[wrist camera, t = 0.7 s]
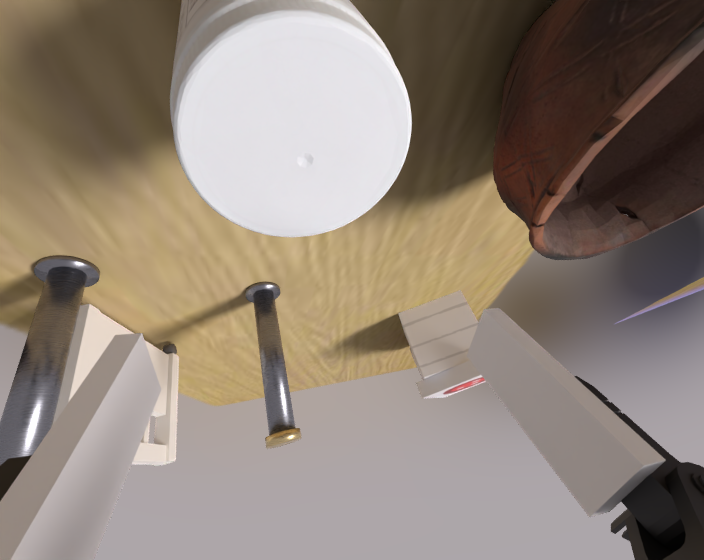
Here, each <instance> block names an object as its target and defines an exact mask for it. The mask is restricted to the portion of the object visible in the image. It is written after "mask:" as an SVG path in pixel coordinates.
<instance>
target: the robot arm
mask: <svg viewBox="0 0 704 560" xmlns="http://www.w3.org/2000/svg"><path fill="white" fill-rule="evenodd" d="M467 357H468V358H469V360H470V361H471V362H472V364H473V365H474V366H475V368H476V369H477V370H478V371H479V373H480V374H481V375H482V377H483V378H484V379H485V381H486V382H487V383H488V385H489V386H490V387H491V389H492V390H493V391H494V392H495V394H496V395H497V396H498V398H499V399H500V400H501V402H502V403H503V404H504V406H505V407H506V408H507V409H508V411H509V412H510V413H511V415H512V416H513V417H514V419H515V420H516V421H517V423H518V424H519V425H520V427H521V428H522V429H523V431H524V432H525V433H526V435H527V436H528V437H529V438H530V440H531V441H532V442H533V444H534V445H535V446H536V448H537V449H538V450H539V452H540V453H541V454H542V455H543V457H544V458H545V459H546V461H547V462H548V463H549V465H550V466H551V467H552V469H553V470H554V471H555V472H556V474H557V475H558V476H559V478H560V479H561V480H562V482H563V483H564V484H565V486H566V487H567V488H568V490H569V491H570V492H571V494H572V495H573V496H574V498H575V499H576V500H577V501H578V503H579V504H580V505H581V507H582V508H583V509H584V511H585V512H586V513H587V515H588V516H589V517H593V516H596V515H600V514H603V513H606V512H610V511H611V510H612V509H613V508H614V507H615V506H616V505H617V504H618V503H620V502H622V503H623V504H624V505H625V506H626V507H627V508H628V509H627V510H626V511H624V512H623V513H622V514H621V515H620V516H619V517H618V518H616V519H615V520H614V521H613V523H612V524H611V532H613V533H615V534H616V533H617V532H618V531H620V530H621V529H622V528H623V527H624V526H626V527H627V530H626V531H624V532H623V535H622V537H623V538H625V539H627V540H629V541H630V542H631V546H632V550H633V553H634V558H635V560H704V468H703V467H701V466H699V465H696V464H693V463H689V462H685V463H681V462H679V461H678V460H677V459H675V458H674V457H673V456H672V455H670V454H669V453H668V452H667V451H666V450H665V449H664V448H662V447H661V446H660V445H659V444H658V443H657V442H656V441H655V440H653V439H652V438H651V437H650V436H649V435H647V433H646V432H644V431H643V430H642V429H641V428H640V427H639V426H637V425H636V424H635V423H634V422H633V421H632V420H631V419H630V418H629V417H627V416H626V415H625V414H622V413H621V410H619V409H618V408H617V407H616V406H615V405H614V404H613V403H612V402H611V403H610V402H609V401H608V399H607V398H606V397H605V396H604V395H602V394H601V393H600V392H599V391H598V390H597V389H596V388H595V387H593V386H592V385H590V384H589V383H587V382H585V381H584V380H582V379H580V378H579V377H577V376H573V375H572V374H571V373H570V372H568V370H566V369H565V368H564V367H563V366H562V365H561V364H560V363H559V362H558V361H557V360H555V359H554V358H553V357H552V356H551V355H550V354H549V353H548V352H547V351H545V350H544V349H543V348H542V347H541V346H540V345H539V344H538V343H537V342H536V341H534V340H533V339H532V338H531V337H530V336H529V335H528V334H527V333H526V332H525V331H524V330H522V329H521V328H520V327H519V326H518V325H517V324H516V323H515V322H514V321H513V320H512V319H510V318H509V317H508V316H507V315H506V314H505V313H504V312H503V311H502V310H500V309H499V308H495V309H484V311H483V313H482V316H481V318H480V321H479V324H478V326H477V329H476V332H475V334H474V337H473V340H472V342H471V345H470V348H469V350H468V353H467ZM160 392H161V386H160V384H159V381H158V378H157V375H156V372H155V369H154V366H153V363H152V361H151V358H150V355H149V352H148V349H147V346H146V343H145V340H144V337H143V335H142V333H136V334H121V335H115V336H114V338H113V339H112V340H111V342H110V343H109V345H108V346H107V348H106V349H105V351H104V352H103V353H102V355H101V356H100V358H99V359H98V361H97V362H96V364H95V365H94V366H93V368H92V369H91V371H90V372H89V374H88V375H87V377H86V378H85V379H84V381H83V382H82V384H81V385H80V387H79V388H78V390H77V391H76V393H75V394H74V395H73V397H72V398H71V400H70V401H69V403H68V404H67V406H66V407H65V408H64V410H63V411H62V413H61V414H60V416H59V417H58V419H57V420H56V421H55V423H54V424H53V426H52V427H51V429H50V430H49V432H48V433H47V434H46V436H45V437H44V439H43V440H42V442H41V443H40V445H39V446H38V447H37V449H36V450H35V452H34V453H33V455H30V456H23V457H16V458H9V459H7V460H6V461H5V462H4V463H3V464H2V465H0V560H94V558H95V556H96V553H97V551H98V548H99V545H100V543H101V541H102V538H103V536H104V533H105V530H106V528H107V525H108V523H109V520H110V518H111V515H112V513H113V510H114V508H115V505H116V503H117V500H118V498H119V495H120V493H121V490H122V487H123V485H124V483H125V480H126V477H127V475H128V472H129V470H130V467H131V465H132V462H133V460H134V457H135V455H136V452H137V450H138V447H139V445H140V442H141V440H142V437H143V435H144V432H145V430H146V427H147V425H148V422H149V420H150V417H151V415H152V412H153V410H154V407H155V405H156V402H157V400H158V397H159V395H160Z"/></svg>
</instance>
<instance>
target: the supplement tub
mask: <svg viewBox="0 0 704 560" xmlns="http://www.w3.org/2000/svg"><path fill="white" fill-rule="evenodd" d="M170 112H171V122H172V126H173V134H174V142H175V147H176V152H177V155H178V158H179V161H180V164H181V166H182V168H183V171H184V173H185V174H186V176H187V178H188V180H189V182H190V183H191V184H192V186H193V187H194V189H195V190H196V192H197V193H198V194H199V195H200V197H201V198H202V199H203V200H204V201H205V202H206V203H207V204H208V205H209V206H210V207H211V208H213V209H214V210H215V211H216V212H218V213H219V214H220V215H222V216H223V217H225V218H226V219H228V220H230V221H231V222H233V223H235V224H237V225H239V226H241V227H244V228H246V229H249V230H251V231H254V232H258V233H262V234H265V235H271V236H279V237H303V236H311V235H317V234H321V233H325V232H328V231H332V230H334V229H337V228H339V227H342V226H344V225H346V224H348V223H350V222H352V221H354V220H355V219H357V218H358V217H360V216H361V215H363V214H364V213H366V212H367V211H368V210H369V209H371V208H372V207H373V206H374V205H375V204H376V203H377V202H378V201H379V200H380V199H381V198H382V197H383V196H384V195H385V194H386V192H387V191H388V190H389V189H390V187H391V186H392V184H393V183H394V181H395V180H396V178H397V176H398V174H399V172H400V170H401V168H402V166H403V164H404V161H405V158H406V155H407V152H408V148H409V143H410V137H411V127H412V119H411V109H410V102H409V97H408V93H407V90H406V87H405V84H404V82H403V79H402V77H401V75H400V73H399V71H398V69H397V67H396V66H395V63H394V61H393V59H392V57H391V55H390V53H389V51H388V49H387V48H386V46H385V44H384V43H383V41H382V40H381V39H380V37H379V36H378V35H377V33H376V32H375V31H374V29H373V28H372V27H371V26H370V25H369V23H368V22H367V21H366V19H365V18H364V17H363V16H362V15H361V13H360V12H359V11H358V10H357V9H356V8H355V6H354V5H353V4H352V3H351V2H350V1H349V0H182V3H181V11H180V18H179V27H178V35H177V42H176V50H175V57H174V65H173V75H172V82H171V91H170Z"/></svg>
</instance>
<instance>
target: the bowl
mask: <svg viewBox="0 0 704 560" xmlns="http://www.w3.org/2000/svg"><path fill="white" fill-rule="evenodd" d="M493 175H494V181H495V183H496V185H497V190H498V192H499V195H500V197H501V199H502V200H503V202H504V203H505V204H506V206H507V207H508V209H509V210H510V211H512V212H513V213H515V214H516V215H517V216H518V217H520V218H521V219H522V220H523V221H524V222H525V223H526V225H527V227H528V228H529V230H530V231H529V241H530V243H531V245H532V247H533V248H534V249H535V250H536V251H537V252H538V253H540V254H541V255H542V256H544V257H546V258H550V259H554V260H572V259H586V258H590V257H593V256H597V255H600V254H602V253H605V252H608V251H611V250H613V249H616V248H619V247H621V246H624V245H626V244H629V243H631V242H634V241H636V240H639V239H641V238H643V237H645V236H648V235H650V234H652V233H654V232H656V231H658V230H660V229H662V228H664V227H666V226H667V225H669V224H671V223H673V222H675V221H677V220H679V219H681V218H683V217H685V216H687V215H689V214H691V213H693V212H695V211H697V210H699V209H700V208H702V207H704V0H556V1H555V2H554V3H553V4H552V5H551V6H550V7H549V8H548V9H547V10H546V11H545V12H544V13H543V14H542V15H541V16H540V17H539V18H538V19H537V20H536V21H535V23H534V24H533V25H532V27H531V28H530V29H529V30H528V32H527V33H526V34H525V36H524V37H523V39H522V41H521V43H520V45H519V47H518V49H517V51H516V53H515V56H514V58H513V60H512V64H511V68H510V71H509V72H508V74H507V77H506V81H505V85H504V88H503V102H502V108H501V114H500V119H499V124H498V129H497V133H496V137H495V146H494V161H493ZM624 214H627V215H628V216H627V215H624Z"/></svg>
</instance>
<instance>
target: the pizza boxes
mask: <svg viewBox="0 0 704 560" xmlns="http://www.w3.org/2000/svg"><path fill="white" fill-rule="evenodd" d="M398 314H399V318H400V321H401V324H402V327H403V330H404V333H405V336H406V338H407V341H408V343H409V346H410V351H411V354H412V356H413V359H414V361H415V363H416V365H417V368H418V370H419V372H420V375H421V377H422V379H423V380H422V381H420V382H418V383H416V384H417V386H418V389H419V391H420V394H421V396H422V398H442V397H447V396H450V395H452V394H455V393H457V392H460V391H462V390H465V389H468V388H470V387H473V386H475V385H478V384H480V383H483V382H486V381H485V379H484V378H483V377H482V375H481V374H480V373H479V371H478V370H477V369H476V368H475V366H474V365H473V364H472V362H471V361H470V360H469V358H468V357H467V353H468V350H469V348H470V345H471V342H472V340H473V337H474V334H475V332H476V329H477V326H478V324H479V323H478V321H477V319H476V317H475V315H474V314H473V312H472V310H471V308H470V306H469V305H468V303H467V301H466V299H465V297H464V296H463V294H462V292H461V290H459V291H457V292H454V293H451V294H449V295H446V296H443V297H441V298H438V299H435V300H433V301H430V302H427V303H424V304H422V305H419V306H416V307H414V308H411V309H408V310H406V311H403V312H400V313H398Z"/></svg>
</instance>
